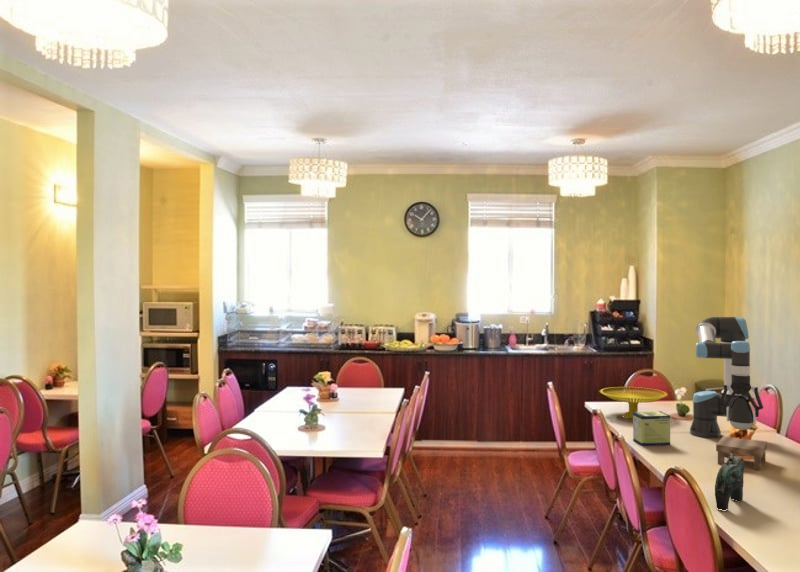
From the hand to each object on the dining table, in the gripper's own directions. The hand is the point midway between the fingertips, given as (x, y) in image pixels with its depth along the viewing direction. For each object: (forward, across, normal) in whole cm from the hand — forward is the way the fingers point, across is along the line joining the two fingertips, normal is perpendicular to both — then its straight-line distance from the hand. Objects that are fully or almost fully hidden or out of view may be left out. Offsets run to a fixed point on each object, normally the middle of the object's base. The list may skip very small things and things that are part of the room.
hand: (741, 422), depth 274 cm
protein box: (+19, +43, -11) cm, 48 cm away
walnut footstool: (+19, 0, 0) cm, 19 cm away
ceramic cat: (+19, -5, +60) cm, 63 cm away
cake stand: (+19, +69, -67) cm, 98 cm away
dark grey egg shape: (+3, 0, 0) cm, 3 cm away
